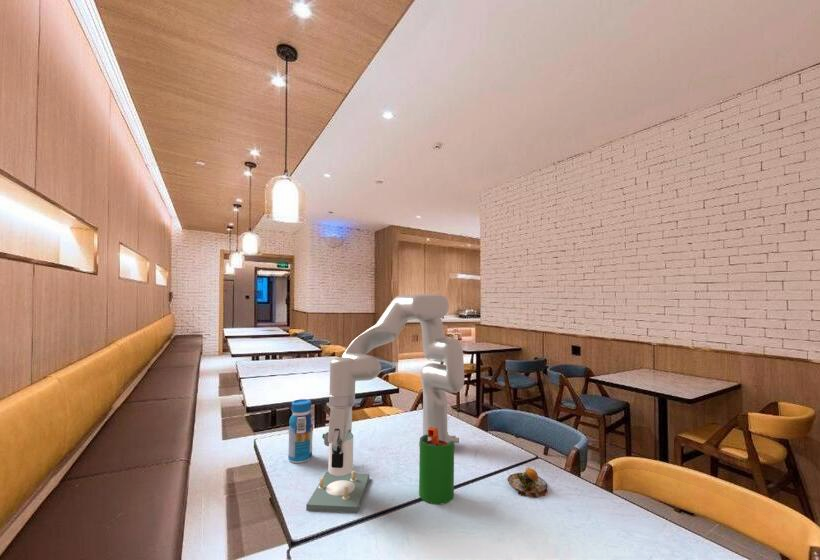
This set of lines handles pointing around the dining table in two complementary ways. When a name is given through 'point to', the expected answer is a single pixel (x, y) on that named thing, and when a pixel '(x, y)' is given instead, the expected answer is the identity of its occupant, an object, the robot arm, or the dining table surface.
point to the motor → (436, 469)
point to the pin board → (339, 493)
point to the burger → (528, 483)
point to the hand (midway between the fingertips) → (340, 460)
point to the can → (347, 457)
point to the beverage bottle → (300, 432)
